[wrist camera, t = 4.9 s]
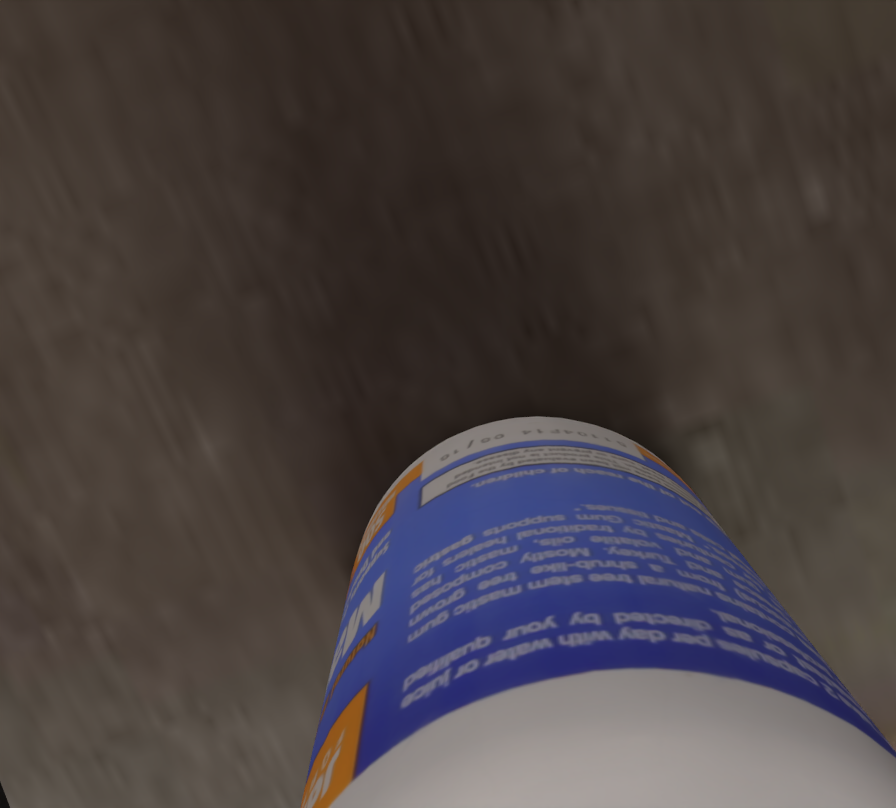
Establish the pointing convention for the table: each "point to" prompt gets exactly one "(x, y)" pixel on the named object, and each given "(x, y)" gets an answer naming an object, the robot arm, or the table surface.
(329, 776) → the pill bottle
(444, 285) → the table surface
